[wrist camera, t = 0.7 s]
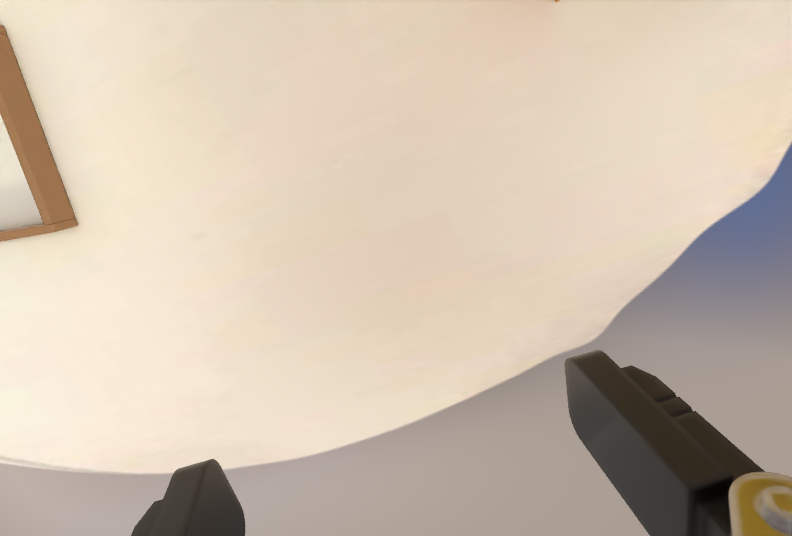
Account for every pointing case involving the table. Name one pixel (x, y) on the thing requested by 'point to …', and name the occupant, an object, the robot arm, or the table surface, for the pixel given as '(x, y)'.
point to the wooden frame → (31, 150)
